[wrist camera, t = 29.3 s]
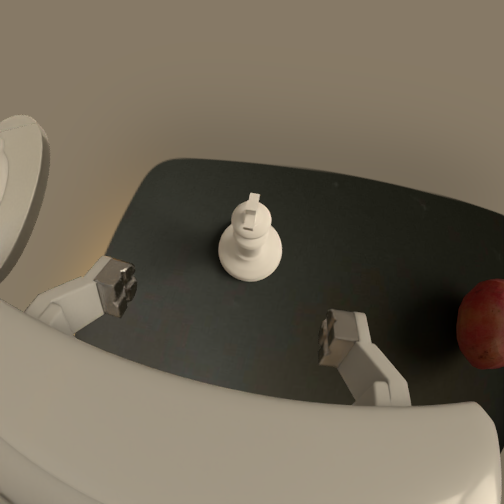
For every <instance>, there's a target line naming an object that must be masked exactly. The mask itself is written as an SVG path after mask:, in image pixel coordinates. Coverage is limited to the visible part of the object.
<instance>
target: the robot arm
mask: <svg viewBox="0 0 504 504" xmlns="http://www.w3.org/2000/svg"><path fill="white" fill-rule="evenodd" d="M7 178H8V159H7V156H6V154H5V152H4V139H3V138H1V137H0V204H1V201H2V199H3V195H4V192H5V188H6V184H7ZM134 273H135V266H134V265H133V264H132V263H129V262H125V261H122V260H118V259H115V258H111V257H108V256H102V257H100V258H99V260H98V261H97V262H96V263H95V264H94V265H93V266H92V267H91V269H90V270H89V271H88V272H87V273H86V274H85V276H84V277H78V278H76V279H73V280H71V281H69V282H66V283H64V284H61V285H59V286H57V287H54V288H52V289H50V290H48V291H45V292H43V293H41V294H38V296H37V297H36V298H35V299H34V300H33V301H32V303H31V304H30V305H29V306H28V307H27V309H26V310H25V311H24V312H23V311H21V310H19V309H17V308H16V307H14V306H12V305H11V304H9V303H7V302H6V301H4V300H2V299H1V298H0V504H501V463H500V451H499V443H498V437H497V432H496V428H495V425H494V423H493V421H492V420H491V418H490V417H489V416H488V414H487V413H486V412H485V411H484V410H483V408H482V407H481V406H480V405H478V404H477V403H476V402H462V403H453V404H442V405H428V406H411V401H410V396H409V390H408V385H407V381H406V380H405V379H404V378H403V377H402V376H401V374H400V373H399V372H398V371H397V370H396V368H395V367H394V366H393V365H392V364H391V362H390V361H389V360H388V359H387V358H386V357H385V355H384V354H383V353H382V352H381V351H380V350H379V348H378V347H377V346H376V345H375V344H372V343H371V338H370V333H369V328H368V323H367V319H366V315H365V314H364V313H360V312H352V311H347V310H341V309H335V308H330V309H329V310H328V312H327V314H326V318H327V319H326V320H325V321H323V322H322V324H321V326H320V329H319V333H318V344H319V345H320V347H321V348H320V349H319V351H318V365H322V366H328V367H334V368H337V369H338V371H339V373H340V374H341V376H342V378H343V379H344V381H345V383H346V385H347V386H348V388H349V390H350V391H351V393H352V395H353V397H354V398H355V400H356V402H355V403H354V404H353V405H339V404H326V403H316V402H307V401H299V400H291V399H284V398H277V397H271V396H265V395H259V394H254V393H248V392H243V391H238V390H234V389H229V388H224V387H220V386H216V385H211V384H207V383H203V382H199V381H196V380H192V379H188V378H185V377H181V376H177V375H174V374H171V373H167V372H164V371H161V370H158V369H155V368H151V367H148V366H145V365H142V364H139V363H137V362H134V361H131V360H128V359H125V358H123V357H120V356H117V355H115V354H112V353H110V352H107V351H104V350H102V349H100V348H97V347H95V346H92V345H90V344H88V343H85V342H83V341H81V340H78V339H76V338H75V337H74V335H73V334H74V333H75V332H77V331H79V330H80V329H82V328H83V327H85V326H86V325H88V324H89V323H91V322H92V321H94V320H96V319H97V318H99V317H100V316H102V315H103V314H104V313H105V314H108V315H112V316H115V317H118V318H121V317H122V315H123V314H124V312H125V311H126V309H127V302H130V301H132V299H133V298H134V296H135V293H136V290H137V280H136V278H135V277H134V276H133V274H134Z"/></svg>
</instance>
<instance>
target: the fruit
mask: <svg viewBox="0 0 504 504" xmlns="http://www.w3.org/2000/svg"><path fill="white" fill-rule="evenodd" d="M457 341H458V344H459V348H460V351H461V352H462V353H463V355H464V356H465V357H466V359H467V360H468V361H469V362H470V363H471V364H472V366H474V367H477V368H479V369H495V368H500V367H503V366H504V279H492V280H487V281H483V282H480V283H478V284H477V285H476V286H475V287H474V288H473V289H472V290H471V291H470V292H469V293H468V294H467V295H466V296H465V297H464V298H463V300H462V303H461V305H460V307H459V310H458V317H457Z"/></svg>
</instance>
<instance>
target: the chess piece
mask: <svg viewBox="0 0 504 504" xmlns="http://www.w3.org/2000/svg"><path fill="white" fill-rule="evenodd" d="M259 195H260V194H255V193H250V197H249V200H248V201H247V202H243V203H241V204H240V205H238V206H237V207H236V208H235V210H234V212H233V214H232V218H231V222H232V224H231V225H230V226H228V227H227V228H226V230H225V231H224V232H223V234H222V236H221V239H220V242H219V248H218V253H219V258H220V261H221V264H222V266H223V267H224V269H225V270H226V271H227V272H228V273H229V274H230V275H231V276H233V277H235V278H237V279H239V280H242V281H249V282H251V281H258V280H261V279H264V278H266V277H267V276H269V275H270V274H271V273H272V272H273V271H274V270H275V269H276V268H277V266H278V264H279V262H280V260H281V255H282V245H281V240H280V238H279V235H278V234H277V232H276V231H275V229H274V228H273V227H272V226H271V215H270V212H269V210H268V209H267V208H266V207H265V206H264V205H263V204H261V203H259V202H258V201H259Z"/></svg>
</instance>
